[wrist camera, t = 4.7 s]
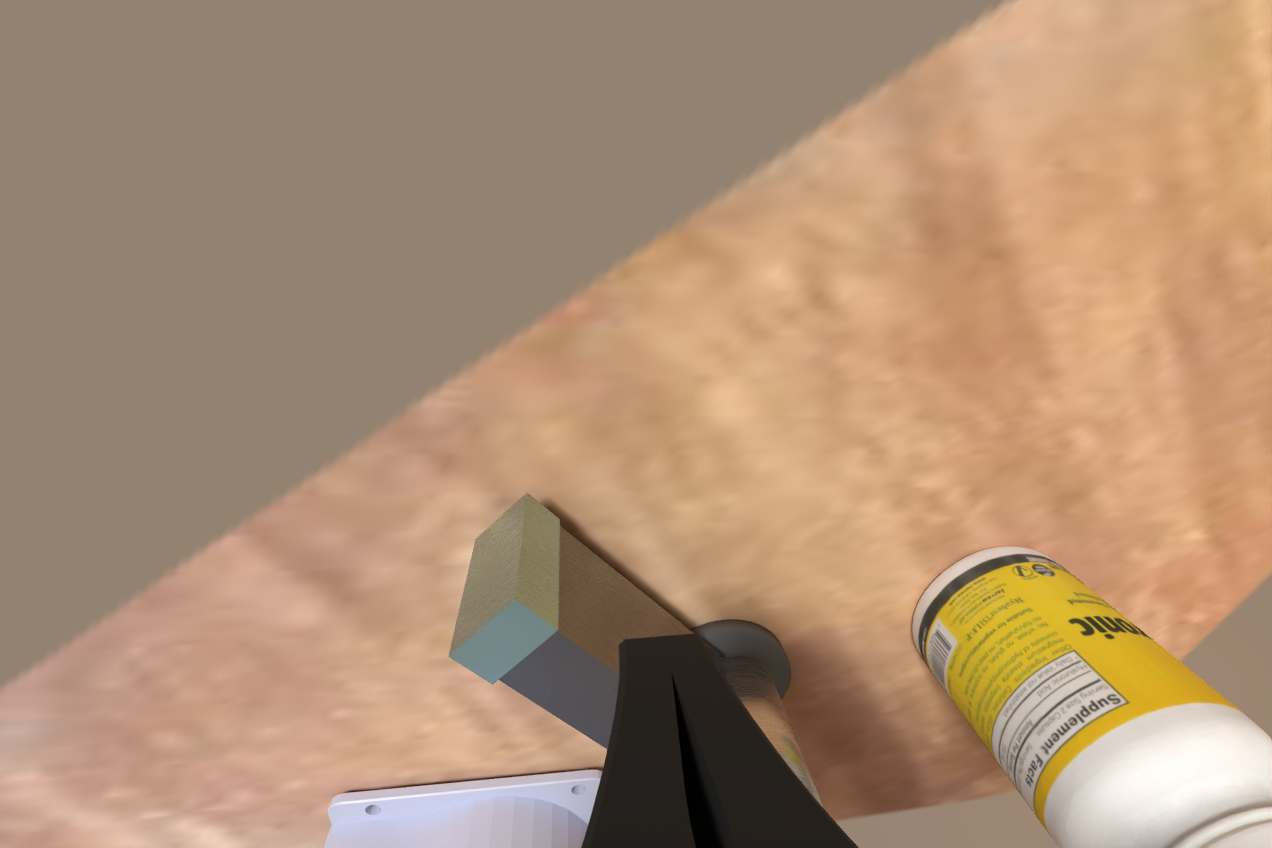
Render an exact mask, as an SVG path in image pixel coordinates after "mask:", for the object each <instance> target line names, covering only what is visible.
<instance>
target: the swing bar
mask: <svg viewBox="0 0 1272 848" xmlns="http://www.w3.org/2000/svg"><path fill="white" fill-rule="evenodd" d="M683 634H694V633H693V632H692V631H690V630H689V629H688V628H687V627H685V626H684V625H683V624H682V623H680V622H679V621H678V620H677V619H675V618H674V617H673V616H672V615H670V614H669V613H668V612H667V611H665V610H664V609H663V608H662V607H660V606H659V605H658V604H657V603H656V602H654V601H653V600H652V599H651V598H649V597H648V596H647V595H646V594H644V593H643V592H642V591H641V590H639V589H638V588H637V587H636V586H634V585H633V584H632V583H631V582H629V581H628V580H627V579H626V578H624V577H623V576H622V575H621V574H619V573H618V572H617V571H616V570H614V569H613V568H612V567H611V566H609V565H608V564H607V563H606V562H604V561H603V560H602V559H601V558H599V557H598V556H597V555H596V554H595V553H593V552H592V551H591V550H590V549H588V548H587V547H586V546H585V545H583V544H582V543H581V542H580V541H578V540H577V539H576V538H575V537H573V536H572V535H571V534H570V533H568V532H567V531H566V530H565V529H563V528H562V527H561V526H560V519H559V518H558V517H557V516H555V515H554V514H553V513H552V512H550V511H549V510H548V509H547V508H545V507H544V506H543V505H542V504H540V503H539V502H538V501H537V500H535V499H534V498H533V497H532V496H531V495H529V494H528V493H526V494H525V495H524V496H523V497H522V498H521V499H520V500H518V501H517V502H516V503H515V504H514V505H513V506H512V507H511V508H510V509H509V510H507V511H506V512H505V513H504V514H503V515H502V516H501V517H500V518H499V519H497V520H496V521H495V522H494V523H493V524H492V525H491V526H490V527H489V528H488V529H486V530H485V531H484V532H483V533H482V534H481V535H480V536H479V537H478V538H477V539H476V541H475V545H474V549H473V553H472V558H471V562H470V566H469V571H468V575H467V579H466V584H465V588H464V592H463V596H462V601H461V605H460V609H459V614H458V618H457V622H456V626H455V631H454V635H453V639H452V644H451V648H450V652H449V657H450V658H452V659H453V660H455V661H456V662H458V663H460V664H461V665H463V666H464V667H466V668H467V669H469V670H471V671H472V672H474V673H475V674H477V675H479V676H480V677H482V678H483V679H485V680H486V681H488V682H490V683H491V684H494V683H495V682H496V681H497V680H500V681H502V682H503V683H505V684H506V685H508V686H509V687H511V688H513V689H514V690H516V691H517V692H519V693H520V694H522V695H523V696H525V697H527V698H528V699H530V700H531V701H533V702H534V703H536V704H537V705H539V706H541V707H542V708H544V709H545V710H547V711H548V712H550V713H552V714H553V715H555V716H556V717H558V718H559V719H561V720H562V721H564V722H566V723H567V724H569V725H570V726H572V727H573V728H575V729H577V730H578V731H580V732H581V733H583V734H584V735H586V736H587V737H589V738H591V739H592V740H594V741H595V742H597V743H598V744H600V745H601V746H603V747H605V748H606V749H608V745H609V740H610V735H611V730H612V725H613V720H614V715H615V708H616V701H617V694H618V685H619V644H620V643H621V642H623V641H624V640H625V639H633V638H646V637H658V636H670V635H683ZM705 644H706V645H707V647H708V649H709V651H710V652H711V654H712V656H713V658H714V659H715V661H716V663H717V664H718V666H719V668H720V669H721V671H722V672H723V674H724V676H725V677H726V679H727V680H728V682H729V683H730V685H731V686H732V688H733V689H734V691H735V693H736V694H737V696H738V697H739V699H740V700H741V702H742V703H743V704H744V706H745V707H746V709H747V710H748V712H749V713H750V715H751V716H752V717H753V719H754V720H755V721H756V723H757V724H758V726H759V727H760V728H761V730H762V731H763V732H764V734H765V735H766V737H767V738H768V739H769V741H770V742H771V743H772V745H773V746H774V747H775V749H776V750H777V751H778V753H779V754H780V755H781V757H782V758H783V759H784V760H785V762H786V763H787V764H788V766H789V767H790V768H791V770H792V771H793V772H794V773H795V774H796V776H797V777H798V778H799V779H800V781H801V782H802V783H803V784H804V786H805V787H806V788H807V789H808V790H809V792H810V793H811V794H812V795H813V797H814V798H815V799H816V800H817V801H818V802H819V804H820V805H821V806H822V807H823V805H822V802H821V800H820V797H819V795H818V792H817V790H816V787H815V785H814V782H813V780H812V777H811V775H810V772H809V770H808V767H807V765H806V762H805V760H804V757H803V755H802V752H801V749H800V747H799V744H798V742H797V739H796V737H795V734H794V732H793V729H792V727H791V724H790V722H789V719H788V717H787V714H786V712H785V709H784V707H783V704H782V702H781V699H780V697H779V694H778V692H777V689H776V687H775V684H774V681H773V679H772V676H771V674H770V672H769V671H768V670H767V668H766V667H765V666H764V665H762V664H761V663H759V662H757V661H755V660H752V659H749V658H745V657H727V658H722V659H721V658H720V655H719V653H718V652H716V651H715V650H714V649H713V648H712V647H710V646H709V645H708V644H707V643H705ZM823 808H824V807H823Z"/></svg>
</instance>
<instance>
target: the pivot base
mask: <svg viewBox="0 0 1272 848" xmlns="http://www.w3.org/2000/svg"><path fill="white" fill-rule="evenodd" d="M690 631H692V632H693V633H694V634H695V633H697V634H698V635H699V636H701V637H702V638H703V640H704V642H705V643H707V644H708V645H709V646H710V647H712V648H713V649H714V650H715V651H716V652H718V653H719V655H720V658H721V659H722V658H727V657H745V658H749V659H752V660H755V661H757V662H759V663H761V664H762V665H764V666H765V667H766V668H767V670H768V671H769V672H770V674H771V676H772V679H773V681H774V684H775V687H776V689H777V692H778V694H779V697H780V699H782V698H783V696H784V695H785V693H786V691H787V688H788V686H789V682H790V674H791V672H790V665H789V662H788V659H787V657H786V655H785V652H784V650H783V648H782V646H781V644H780V642H779V640H778V639H777V638H776V636H775V635H773V634H772V633H771V632H770V631H769V630H767V629H766V628H764V627H762V626H760V625H758V624H755V623H752V622H748V621H744V620H720V621H714V622H710V623H707V624H704V625H701V626H698V627H696V628H694V629H692V630H690Z"/></svg>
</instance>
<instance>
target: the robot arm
mask: <svg viewBox="0 0 1272 848" xmlns="http://www.w3.org/2000/svg"><path fill="white" fill-rule="evenodd" d="M328 815H329V819H330V822H331V825H332V826H331V828H330V831H329V834H328V836H327V839H326V842H325V845H324V848H858V847H857V846H856V844H855V843H854V842H853V841H852V840H851V839H850V838H849V837H848V836H847V835H846V833H844V831H843V830H842V829H841V828H840V827H839V826H838V825H837V823H836V822H835V821H834V820H833V819H832V818H831V817H830V815H829V814H828V813H827V812H826V811H825V810H824V808H823V807H822V806H821V805H820V804H819V802H818V801H817V800H816V799H815V798H814V797H813V795H812V794H811V793H810V792H809V790H808V789H807V788H806V787H805V786H804V784H803V783H802V782H801V781H800V779H799V778H798V777H797V776H796V774H795V773H794V772H793V771H792V770H791V768H790V767H789V766H788V764H787V763H786V762H785V760H784V759H783V758H782V757H781V755H780V754H779V753H778V751H777V750H776V749H775V747H774V746H773V745H772V743H771V742H770V741H769V739H768V738H767V737H766V735H765V734H764V732H763V731H762V730H761V728H760V727H759V726H758V724H757V723H756V721H755V720H754V719H753V717H752V716H751V715H750V713H749V712H748V710H747V709H746V707H745V706H744V704H743V703H742V702H741V700H740V699H739V697H738V696H737V694H736V693H735V691H734V689H733V688H732V686H731V685H730V683H729V682H728V680H727V679H726V677H725V676H724V674H723V672H722V671H721V669H720V668H719V666H718V664H717V663H716V661H715V659H714V658H713V656H712V654H711V652H710V651H709V649H708V647H707V645H706V644H705V642H704V640H703V638H702V637H701V636H699V635H698V634H697V633H695V634H683V635H670V636H658V637H646V638H633V639H625V640H624V641H623V642H621V643H620V644H619V685H618V694H617V701H616V708H615V715H614V720H613V725H612V730H611V735H610V740H609V745H608V750H607V755H606V759H605V764H604V768H603V771H600V770H596V769H591V770H580V771H570V772H559V773H549V774H538V775H528V776H517V777H507V778H496V779H486V780H476V781H465V782H455V783H444V784H434V785H423V786H413V787H402V788H392V789H381V790H371V791H361V792H350V793H342V794H338V795H336V796H335V797H333V799H332V800H331V802H330V805H329V808H328Z"/></svg>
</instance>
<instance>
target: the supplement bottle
mask: <svg viewBox="0 0 1272 848" xmlns="http://www.w3.org/2000/svg"><path fill="white" fill-rule="evenodd" d="M912 632H913V639H914V642H915V646H916V648H917V650H918V652H919V653H920V655H921V657H922V658H923V660H924V661H925V663H926V664H927V666H928V667H929V668H930V670H931V671H932V673H933V674H934V676H935V677H936V678H937V680H938V681H939V683H940V684H941V685H942V687H943V688H944V689H945V691H946V692H947V693H948V695H949V696H950V697H951V699H952V700H953V702H954V703H955V704H956V706H957V707H958V709H959V710H960V711H961V713H962V714H963V715H964V717H965V718H966V719H967V721H968V722H969V723H970V725H971V726H972V728H973V729H974V730H975V732H976V733H977V735H978V736H979V738H980V739H981V740H982V742H983V743H984V744H985V746H986V747H987V748H988V750H989V751H990V753H991V754H992V756H993V757H994V758H995V760H996V761H997V762H998V764H999V765H1000V767H1001V768H1002V769H1003V771H1004V772H1005V773H1006V775H1007V776H1008V778H1009V779H1010V780H1011V782H1012V783H1013V784H1014V786H1015V787H1016V789H1017V790H1018V791H1019V793H1020V794H1021V795H1022V797H1023V798H1024V800H1025V801H1026V802H1027V804H1028V805H1029V806H1030V808H1031V810H1032V811H1033V812H1034V814H1035V815H1036V816H1037V818H1038V819H1039V821H1040V822H1041V824H1042V825H1043V826H1044V827H1045V829H1046V830H1047V832H1048V833H1049V834H1050V836H1051V837H1052V838H1053V839H1054V841H1055V842H1056V843H1057V845H1058V846H1059V847H1060V848H1272V740H1271V738H1270V737H1269V736H1268V735H1267V734H1266V733H1265V732H1264V731H1263V730H1262V729H1260V728H1259V727H1258V726H1257V725H1256V724H1255V723H1254V722H1253V721H1251V720H1250V719H1249V718H1248V717H1247V716H1245V715H1244V714H1243V713H1242V712H1241V711H1240V710H1239V709H1238V708H1237V707H1235V706H1234V705H1233V704H1231V703H1230V702H1229V701H1228V700H1226V699H1225V698H1224V697H1223V696H1222V695H1220V694H1219V693H1218V692H1217V691H1215V690H1214V689H1213V688H1211V687H1210V686H1209V685H1208V684H1207V683H1206V682H1204V681H1203V680H1202V679H1201V678H1200V677H1198V676H1197V675H1196V674H1194V673H1193V672H1192V671H1190V670H1189V669H1188V668H1187V667H1186V666H1185V665H1184V664H1182V663H1181V662H1180V661H1179V660H1177V659H1176V658H1175V657H1174V656H1172V655H1171V654H1170V653H1169V652H1167V651H1166V650H1165V649H1164V648H1163V647H1161V646H1160V645H1159V644H1158V643H1157V642H1155V641H1154V640H1153V639H1151V638H1150V637H1149V636H1147V635H1146V634H1145V633H1144V632H1143V631H1141V630H1140V629H1139V628H1138V627H1136V626H1135V625H1134V624H1133V623H1132V622H1130V621H1129V620H1128V619H1127V618H1125V617H1124V616H1123V615H1122V614H1120V613H1119V612H1118V611H1117V610H1115V609H1114V608H1113V607H1112V606H1111V605H1109V604H1108V603H1107V602H1106V601H1104V600H1103V599H1102V598H1101V597H1099V596H1098V595H1097V594H1096V593H1094V592H1093V591H1092V590H1091V589H1089V588H1088V587H1087V586H1086V585H1085V584H1083V583H1082V582H1081V581H1079V580H1078V579H1077V578H1076V577H1075V576H1073V575H1072V574H1071V573H1070V572H1068V571H1067V570H1066V569H1065V568H1063V567H1062V566H1061V565H1059V564H1058V563H1057V562H1055V561H1054V560H1052V559H1051V558H1049V557H1048V556H1046V555H1045V554H1043V553H1040V552H1038V551H1035V550H1033V549H1029V548H1024V547H1016V546H1004V547H994V548H989V549H985V550H982V551H979V552H976V553H974V554H971V555H969V556H967V557H965V558H963V559H961V560H959V561H958V562H956V563H955V564H953V565H952V566H950V567H949V568H947V569H946V570H945V571H943V572H942V573H941V574H940V575H939V576H938V577H937V578H936V579H935V580H934V581H933V582H932V583H931V584H930V585H929V587H928V588H927V589H926V591H925V592H924V594H923V595H922V597H921V598H920V600H919V602H918V604H917V607H916V609H915V612H914V616H913V622H912Z"/></svg>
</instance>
